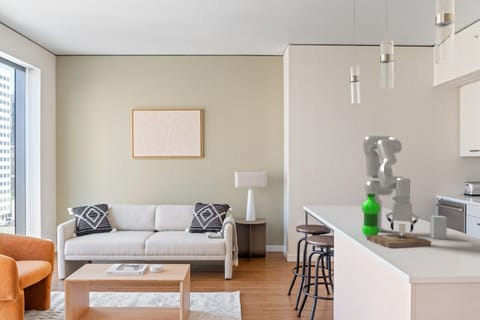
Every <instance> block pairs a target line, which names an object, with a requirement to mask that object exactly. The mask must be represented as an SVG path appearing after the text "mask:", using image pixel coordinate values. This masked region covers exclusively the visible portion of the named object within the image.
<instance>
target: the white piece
mask: <svg viewBox="0 0 480 320" xmlns="http://www.w3.org/2000/svg"><path fill="white" fill-rule="evenodd" d="M398 234H400V237H404V235H405V234H406V223H402V222H399V224H398Z"/></svg>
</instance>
